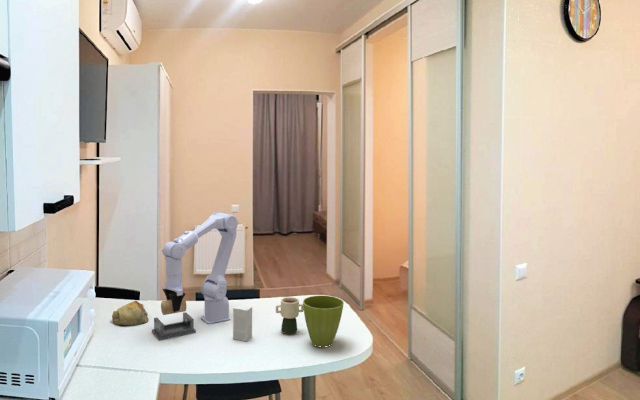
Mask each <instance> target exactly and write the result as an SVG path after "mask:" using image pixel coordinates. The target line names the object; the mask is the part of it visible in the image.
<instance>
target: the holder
mask: <svg viewBox="0 0 640 400" xmlns="http://www.w3.org/2000/svg"><path fill="white" fill-rule="evenodd" d="M194 321H195V319H194V318H193V317H192V316H191V315H190V314H188V313H187V312H186V311H184V312H182V321H178V322H173V323H168V324H164V323H163V322H162V321H161V319H159V317H154V318H153V329H151V333H152V334H153V335H154V337H155V338H156V339H157V340H158V341H163V340H167V339H169V340H170V339H172V338H178V337H182V336H186V335H187V336H188V335H192V334H196V333H197V330H196V329H195V328H194V327H195V326H194V324H195V323H194Z"/></svg>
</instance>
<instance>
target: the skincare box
mask: <svg viewBox="0 0 640 400" xmlns="http://www.w3.org/2000/svg"><path fill="white" fill-rule="evenodd" d="M232 318H233V320H232V321H233V323H232V338H233V340H237V341H242V340H243V341H242V342H248V341H249V340H251V339H252V338H253V306H247V305H241V304H238V305H236V306H235V307H233V308H232ZM250 338H251V339H250Z"/></svg>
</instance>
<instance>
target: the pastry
mask: <svg viewBox="0 0 640 400" xmlns="http://www.w3.org/2000/svg"><path fill="white" fill-rule="evenodd" d="M148 316H149V315H148V312H147V309H146V308H145V306H144V304H143V303H140V302H139V301H138V300H133V301H131V302H128V303H127V304H125V305H122V306H121V307H118V308H117V310H113V312H112V315H111V318H112V319H111V320H112V322H113V324H115V325H117V326H137V325H144V324H146V323H148V322H149V320H150V318H149V317H148Z"/></svg>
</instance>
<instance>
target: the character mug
mask: <svg viewBox="0 0 640 400" xmlns="http://www.w3.org/2000/svg"><path fill="white" fill-rule="evenodd" d="M300 307H301V308H300ZM279 308H280V310H279ZM300 313H304V307H303V303H300V299H299V298H296V297H292V296H287V297H283V298H281V299H280V304H276V305H275V314H280V316H281V317H282V321H281V322H282V323H281V330H280V331H281V333H284V334H288V335H291V334H295V333H297V331H298V323H297V317H298V316H299V314H300Z"/></svg>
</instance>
